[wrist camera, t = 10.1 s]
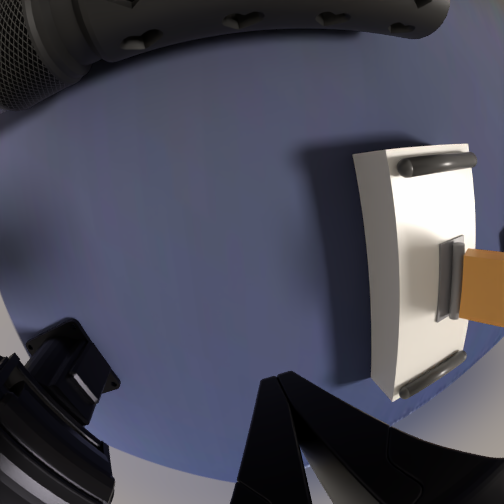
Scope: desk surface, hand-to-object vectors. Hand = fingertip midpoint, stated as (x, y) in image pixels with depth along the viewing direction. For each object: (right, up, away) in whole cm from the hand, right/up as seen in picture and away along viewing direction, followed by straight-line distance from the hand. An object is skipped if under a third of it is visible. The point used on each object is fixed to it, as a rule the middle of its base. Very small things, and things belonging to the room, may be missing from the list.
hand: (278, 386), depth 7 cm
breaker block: (+13, +2, +14) cm, 19 cm away
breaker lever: (+15, +1, +10) cm, 18 cm away
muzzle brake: (-4, +20, +7) cm, 22 cm away
